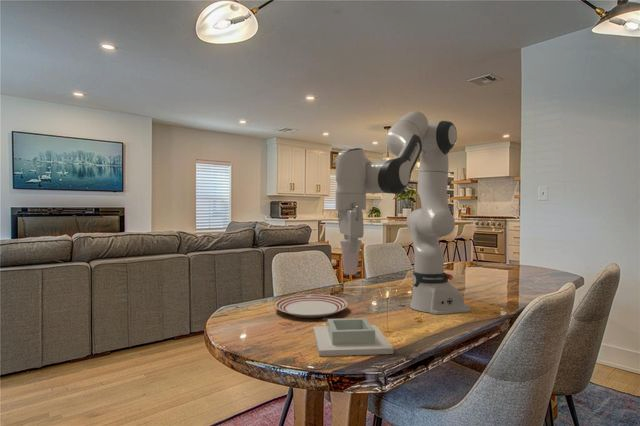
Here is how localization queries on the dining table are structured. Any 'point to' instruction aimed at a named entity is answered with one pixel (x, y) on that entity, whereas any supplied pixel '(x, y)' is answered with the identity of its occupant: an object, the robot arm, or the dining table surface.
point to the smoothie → (350, 257)
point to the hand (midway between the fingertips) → (350, 251)
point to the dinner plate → (311, 305)
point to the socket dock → (350, 338)
